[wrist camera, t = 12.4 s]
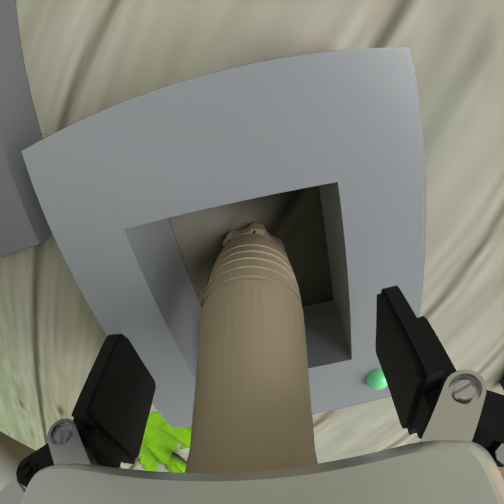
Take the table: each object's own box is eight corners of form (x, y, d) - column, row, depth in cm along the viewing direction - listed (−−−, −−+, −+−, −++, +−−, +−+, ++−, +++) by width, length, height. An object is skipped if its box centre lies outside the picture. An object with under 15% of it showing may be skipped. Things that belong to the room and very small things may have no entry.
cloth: (234, 385, 24) (233, 409, 22) (312, 470, 34) (314, 485, 31) (75, 413, 28) (68, 430, 26) (181, 486, 38) (179, 499, 36)
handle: (299, 290, 19) (340, 562, 6) (190, 275, 18) (127, 553, 5) (320, 216, 17) (434, 530, 3) (198, 196, 16) (80, 531, 3)
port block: (77, 130, 14) (9, 156, 9) (364, 57, 13) (420, 45, 7) (182, 372, 22) (169, 437, 17) (384, 338, 21) (409, 401, 16)
